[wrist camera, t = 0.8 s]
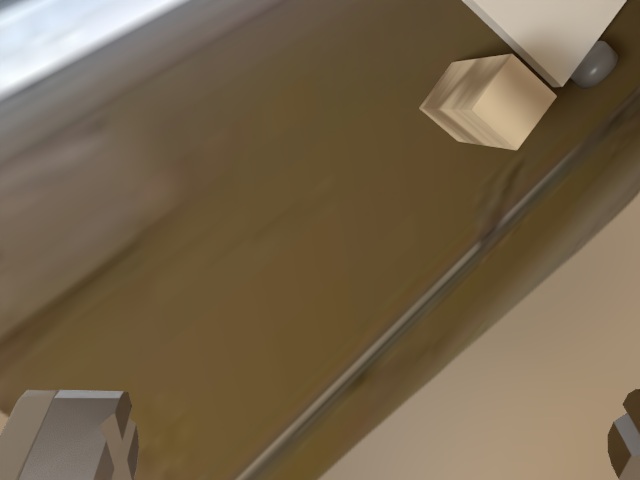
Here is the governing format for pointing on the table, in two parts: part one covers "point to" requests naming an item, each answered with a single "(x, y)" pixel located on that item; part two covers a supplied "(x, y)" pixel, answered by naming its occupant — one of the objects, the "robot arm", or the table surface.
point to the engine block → (488, 101)
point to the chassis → (555, 35)
